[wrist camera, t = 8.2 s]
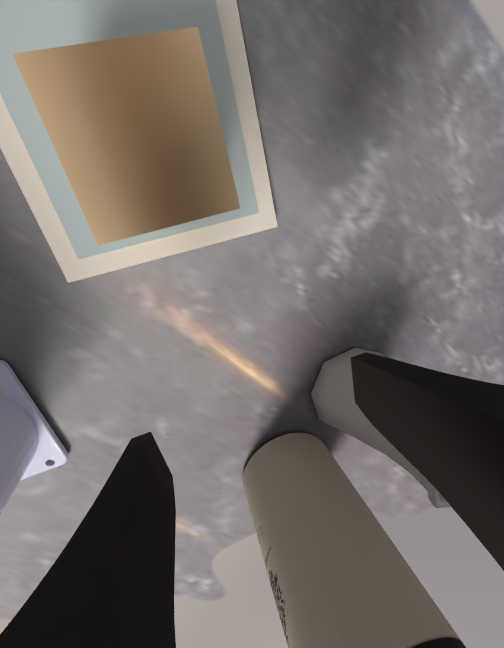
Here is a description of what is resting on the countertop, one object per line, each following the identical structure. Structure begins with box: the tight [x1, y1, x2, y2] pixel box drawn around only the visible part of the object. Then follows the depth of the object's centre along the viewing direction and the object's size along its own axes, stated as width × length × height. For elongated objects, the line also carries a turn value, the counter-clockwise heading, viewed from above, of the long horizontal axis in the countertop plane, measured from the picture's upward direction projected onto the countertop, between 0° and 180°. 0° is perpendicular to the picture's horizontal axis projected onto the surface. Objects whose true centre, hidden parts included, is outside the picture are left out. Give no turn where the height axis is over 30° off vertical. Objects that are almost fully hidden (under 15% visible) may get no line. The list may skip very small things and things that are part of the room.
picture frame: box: [0, 0, 278, 283], centre depth 14 cm, size 12×12×1 cm
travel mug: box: [243, 433, 466, 648], centre depth 17 cm, size 8×8×18 cm
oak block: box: [13, 27, 240, 246], centre depth 11 cm, size 5×5×6 cm
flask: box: [311, 348, 451, 508], centre depth 19 cm, size 7×7×10 cm
